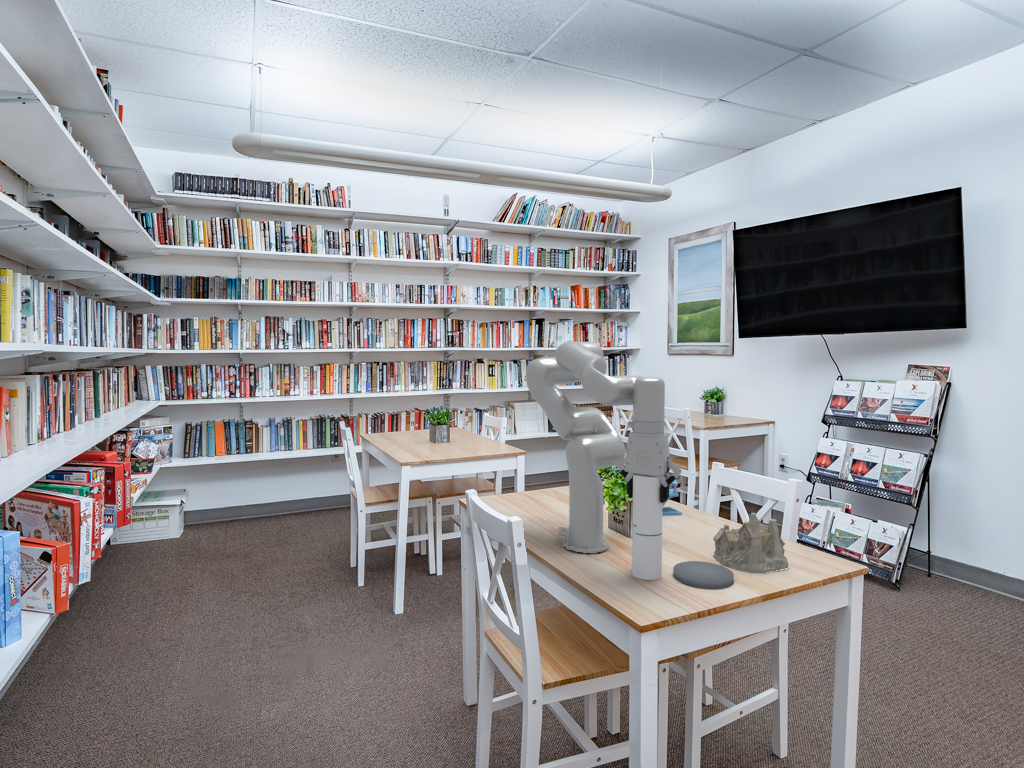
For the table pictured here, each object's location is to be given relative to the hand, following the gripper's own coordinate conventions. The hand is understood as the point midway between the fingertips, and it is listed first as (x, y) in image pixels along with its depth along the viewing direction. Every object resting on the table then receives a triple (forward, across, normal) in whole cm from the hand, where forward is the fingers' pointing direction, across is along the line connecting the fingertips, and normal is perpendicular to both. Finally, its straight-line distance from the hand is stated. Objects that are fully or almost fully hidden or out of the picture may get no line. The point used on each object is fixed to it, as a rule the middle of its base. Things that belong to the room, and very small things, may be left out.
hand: (647, 498), depth 142 cm
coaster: (+19, +12, +6) cm, 23 cm away
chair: (+19, -16, +57) cm, 62 cm away
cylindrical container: (+19, 0, 0) cm, 19 cm away
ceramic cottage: (+19, +19, +24) cm, 36 cm away
